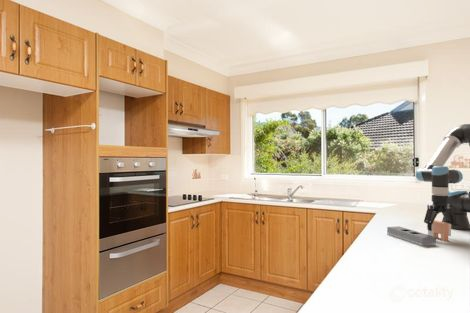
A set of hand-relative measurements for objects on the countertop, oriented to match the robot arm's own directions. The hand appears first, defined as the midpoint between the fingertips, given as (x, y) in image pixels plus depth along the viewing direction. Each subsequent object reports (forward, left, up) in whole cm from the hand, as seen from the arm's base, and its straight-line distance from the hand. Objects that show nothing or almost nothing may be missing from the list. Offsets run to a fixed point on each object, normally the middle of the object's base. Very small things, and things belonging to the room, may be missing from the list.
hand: (439, 236), depth 165 cm
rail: (+17, -2, -1) cm, 17 cm away
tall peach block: (0, 0, -1) cm, 1 cm away
